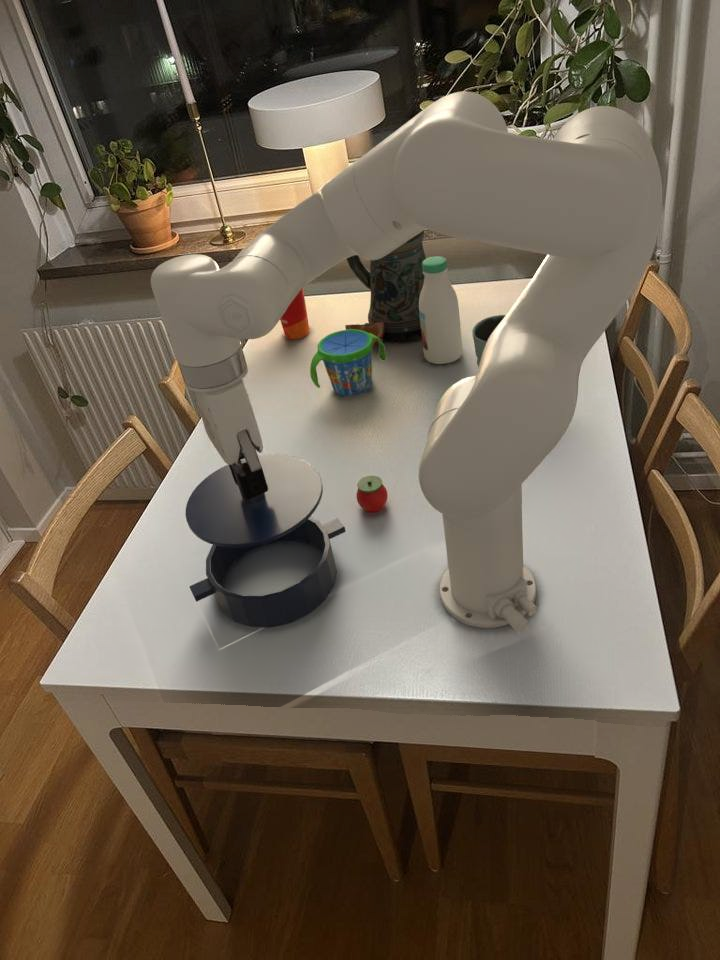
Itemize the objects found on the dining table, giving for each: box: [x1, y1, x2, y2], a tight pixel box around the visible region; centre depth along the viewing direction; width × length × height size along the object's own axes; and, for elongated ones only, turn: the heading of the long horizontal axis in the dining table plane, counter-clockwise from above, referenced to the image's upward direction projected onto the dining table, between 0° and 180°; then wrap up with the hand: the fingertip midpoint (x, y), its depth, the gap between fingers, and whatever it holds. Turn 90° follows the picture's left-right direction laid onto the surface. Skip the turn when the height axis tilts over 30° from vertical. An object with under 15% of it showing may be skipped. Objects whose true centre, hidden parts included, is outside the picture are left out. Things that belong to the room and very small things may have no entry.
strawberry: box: [355, 475, 388, 514], centre depth 113 cm, size 5×5×6 cm
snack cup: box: [309, 329, 387, 397], centre depth 141 cm, size 16×10×10 cm
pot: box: [189, 515, 347, 629], centre depth 104 cm, size 17×23×6 cm
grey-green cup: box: [471, 314, 506, 369], centre depth 133 cm, size 10×10×12 cm
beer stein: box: [346, 230, 427, 344], centre depth 154 cm, size 16×19×25 cm
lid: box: [185, 453, 324, 548], centre depth 96 cm, size 18×18×7 cm
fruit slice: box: [344, 322, 385, 347], centre depth 156 cm, size 8×7×5 cm
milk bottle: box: [419, 255, 463, 365], centre depth 143 cm, size 8×8×20 cm
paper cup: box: [279, 287, 310, 340], centre depth 163 cm, size 8×8×14 cm
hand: (251, 486), depth 96 cm, fingers closed on lid, 3 cm apart
